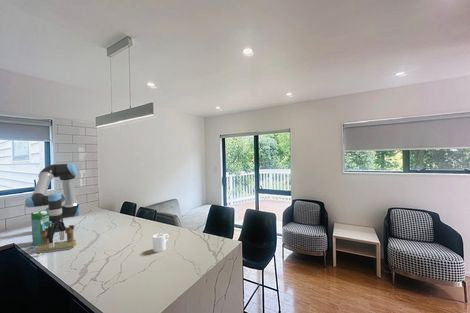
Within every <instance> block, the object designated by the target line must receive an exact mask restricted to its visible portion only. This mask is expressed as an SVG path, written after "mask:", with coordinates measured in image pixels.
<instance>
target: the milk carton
mask: <svg viewBox="0 0 470 313" xmlns="http://www.w3.org/2000/svg"><path fill="white" fill-rule="evenodd" d="M30 215H31V233H32V234H31V235H32V245H34V246H39V245H40V244H42V236H40V231H42V230H45V228H49V224H51V223H52V222H51V221H49V216H50V215H49V212H48V211H45V210H44V209H43V210H39V211H34V212H30ZM53 238H54V239H55V237H54V236H53Z"/></svg>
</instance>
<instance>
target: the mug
mask: <svg viewBox="0 0 470 313" xmlns="http://www.w3.org/2000/svg"><path fill="white" fill-rule="evenodd" d="M169 237H170V235H169V234H168V233H161V232H160V233H156V234H153V236H152V251H153V252H154V253H160V252H164V251H165V250H166V249H167V245H166V242H167V241H168V240H169Z"/></svg>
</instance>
